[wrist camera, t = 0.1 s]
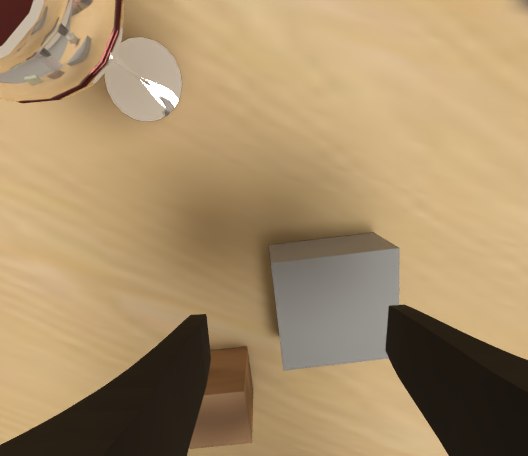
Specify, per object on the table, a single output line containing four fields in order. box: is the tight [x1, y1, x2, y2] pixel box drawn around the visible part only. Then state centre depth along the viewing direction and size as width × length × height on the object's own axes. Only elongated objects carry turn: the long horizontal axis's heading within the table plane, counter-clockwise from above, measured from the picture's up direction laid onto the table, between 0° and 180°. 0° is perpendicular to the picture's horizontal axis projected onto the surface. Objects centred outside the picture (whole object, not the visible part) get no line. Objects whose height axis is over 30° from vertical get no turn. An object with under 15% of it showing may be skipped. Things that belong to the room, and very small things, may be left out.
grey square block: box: [269, 232, 399, 370], centre depth 19 cm, size 8×8×4 cm
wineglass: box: [0, 0, 182, 122], centre depth 11 cm, size 7×7×12 cm
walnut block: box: [189, 347, 253, 449], centre depth 20 cm, size 4×4×4 cm
